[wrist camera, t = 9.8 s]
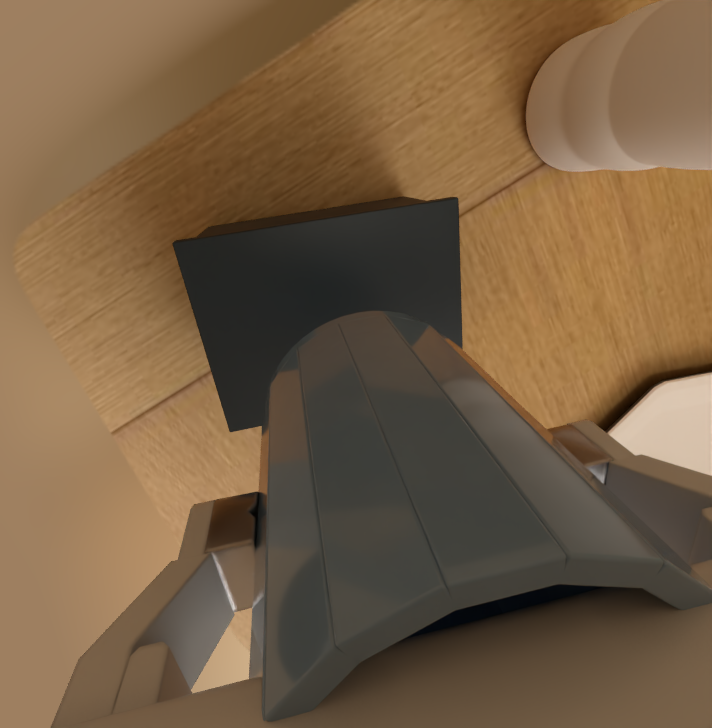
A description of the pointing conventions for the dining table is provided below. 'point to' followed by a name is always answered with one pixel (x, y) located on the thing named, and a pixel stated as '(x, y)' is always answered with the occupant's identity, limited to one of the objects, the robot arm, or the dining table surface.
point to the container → (314, 284)
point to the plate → (671, 423)
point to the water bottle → (629, 93)
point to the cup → (417, 508)
